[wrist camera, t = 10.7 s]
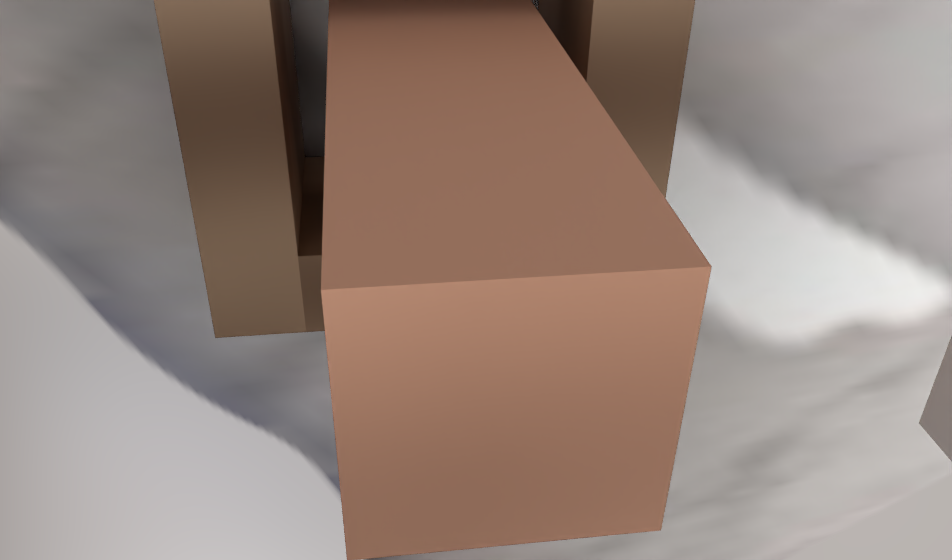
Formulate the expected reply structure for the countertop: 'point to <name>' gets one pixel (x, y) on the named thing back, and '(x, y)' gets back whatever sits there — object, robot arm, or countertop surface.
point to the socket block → (302, 178)
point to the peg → (493, 288)
